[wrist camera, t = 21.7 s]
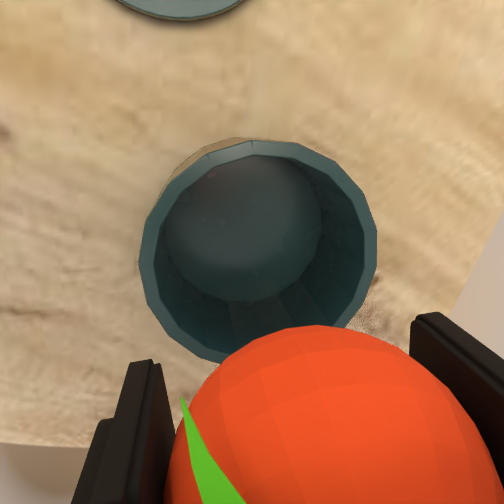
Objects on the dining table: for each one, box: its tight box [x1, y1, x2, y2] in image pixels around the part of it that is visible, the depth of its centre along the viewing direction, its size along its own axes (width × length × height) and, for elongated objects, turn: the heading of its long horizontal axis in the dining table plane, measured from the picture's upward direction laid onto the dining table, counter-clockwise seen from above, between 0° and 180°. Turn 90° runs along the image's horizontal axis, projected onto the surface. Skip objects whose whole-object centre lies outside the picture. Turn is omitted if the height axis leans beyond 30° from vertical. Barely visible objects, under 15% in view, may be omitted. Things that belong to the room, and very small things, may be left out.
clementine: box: [163, 325, 504, 504], centre depth 8 cm, size 8×7×7 cm
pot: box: [138, 137, 377, 364], centre depth 22 cm, size 12×12×8 cm
